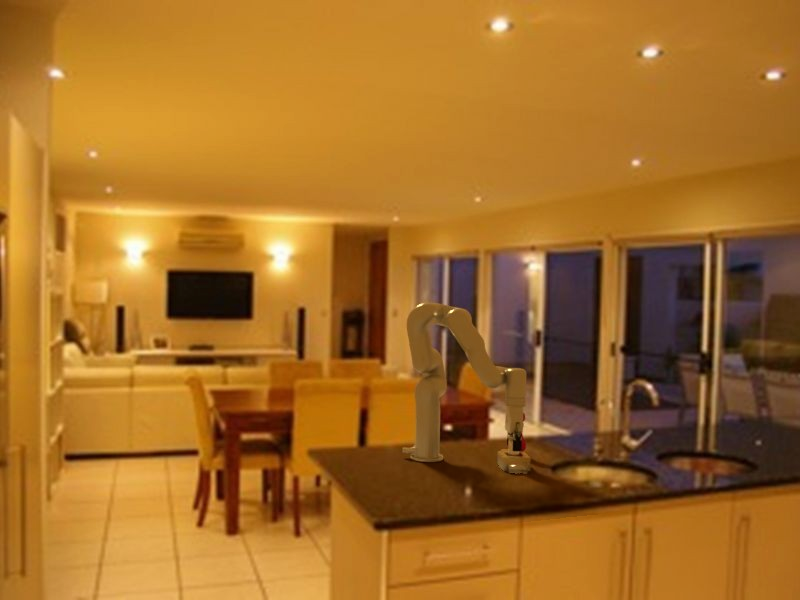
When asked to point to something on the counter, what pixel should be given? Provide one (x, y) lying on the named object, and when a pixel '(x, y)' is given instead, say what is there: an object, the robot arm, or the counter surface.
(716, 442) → the counter surface
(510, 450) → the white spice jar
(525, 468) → the beige stand
